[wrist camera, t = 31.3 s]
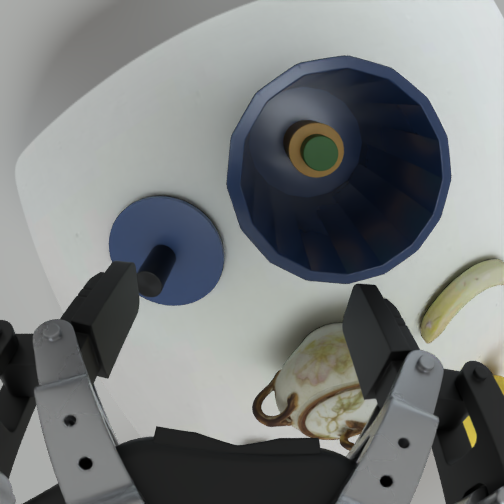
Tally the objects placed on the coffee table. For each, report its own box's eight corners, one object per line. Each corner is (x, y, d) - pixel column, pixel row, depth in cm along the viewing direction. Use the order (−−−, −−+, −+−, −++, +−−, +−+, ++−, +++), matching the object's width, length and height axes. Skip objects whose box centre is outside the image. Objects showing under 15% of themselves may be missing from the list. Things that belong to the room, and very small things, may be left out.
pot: (236, 193, 27) (219, 272, 15) (249, 73, 22) (242, 38, 10) (352, 208, 27) (415, 289, 15) (373, 95, 22) (466, 97, 10)
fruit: (408, 299, 32) (419, 316, 29) (500, 238, 28) (515, 250, 25) (419, 334, 35) (428, 351, 32) (503, 278, 31) (516, 291, 28)
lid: (119, 291, 32) (98, 326, 27) (109, 190, 27) (77, 213, 21) (221, 305, 32) (214, 345, 27) (229, 199, 27) (221, 225, 22)
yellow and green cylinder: (280, 162, 25) (286, 178, 20) (286, 116, 23) (295, 119, 18) (325, 168, 25) (344, 187, 20) (333, 124, 23) (354, 130, 18)
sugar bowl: (420, 297, 32) (478, 391, 18) (386, 379, 39) (414, 464, 25) (255, 298, 32) (253, 422, 19) (252, 385, 39) (250, 484, 25)
